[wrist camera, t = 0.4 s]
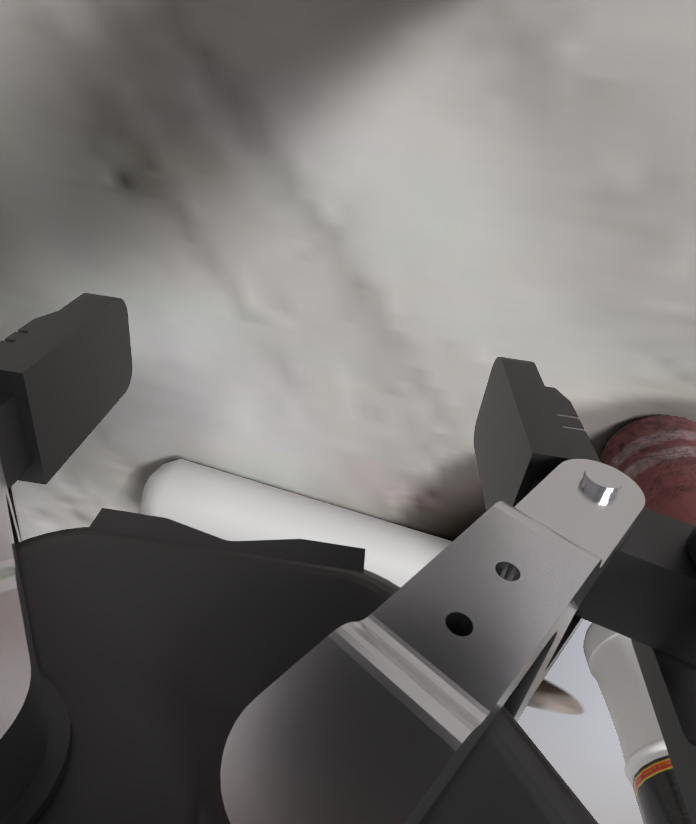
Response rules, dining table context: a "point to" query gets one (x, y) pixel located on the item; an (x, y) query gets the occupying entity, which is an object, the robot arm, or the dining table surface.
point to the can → (658, 462)
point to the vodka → (635, 726)
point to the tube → (281, 518)
